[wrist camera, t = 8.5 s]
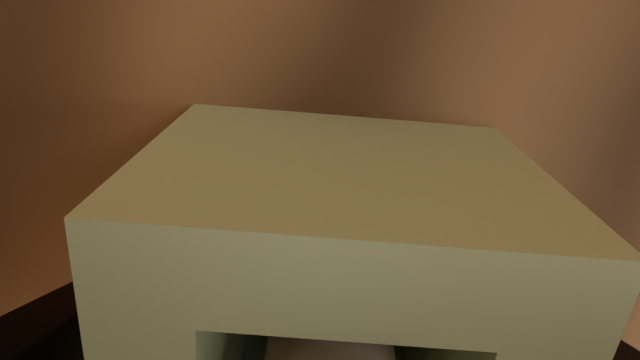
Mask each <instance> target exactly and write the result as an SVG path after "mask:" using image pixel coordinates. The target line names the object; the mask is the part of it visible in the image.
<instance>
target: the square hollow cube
mask: <svg viewBox="0 0 640 360" xmlns="http://www.w3.org/2000/svg"><path fill="white" fill-rule="evenodd" d="M64 223H65V230H66V237H67V244H68V251H69V258H70V265H71V271H72V278H73V285H74V292H75V299H76V306H77V313H78V320H79V327H80V334H81V341H82V348H83V355H84V360H264V359H265V353H266V347H267V342H268V336H277V337H291V338H304V339H318V340H331V341H344V342H358V343H371V344H385V345H393V348H394V354H395V360H613V357H614V355H615V352H616V350H617V347H618V345H619V342H620V340H621V337H622V335H623V332H624V330H625V327H626V325H627V322H628V320H629V317H630V315H631V312H632V310H633V307H634V305H635V302H636V300H637V297H638V295H639V292H640V253H639V252H638V251H637V250H636V249H635V248H634V247H632V246H631V245H630V244H629V243H628V242H627V241H625V240H624V239H623V238H622V237H621V236H620V235H618V234H617V233H616V232H615V231H614V230H613V229H612V228H610V227H609V226H608V225H607V224H606V223H605V222H603V221H602V220H601V219H600V218H599V217H598V216H596V215H595V214H594V213H593V212H592V211H591V210H590V209H588V208H587V207H586V206H585V205H584V204H583V203H581V202H580V201H579V200H578V199H577V198H576V197H574V196H573V195H572V194H571V193H570V192H569V191H568V190H566V189H565V188H564V187H563V186H562V185H561V184H559V183H558V182H557V181H556V180H555V179H554V178H552V177H551V176H550V175H549V174H548V173H547V172H546V171H544V170H543V169H542V168H541V167H540V166H539V165H537V164H536V163H535V162H534V161H533V160H532V159H531V158H529V157H528V156H527V155H526V154H525V153H524V152H522V151H521V150H520V149H519V148H518V147H517V146H515V145H514V144H513V143H512V142H511V141H510V140H509V139H507V138H506V137H505V136H504V135H503V134H502V133H500V132H499V131H498V130H497V129H496V128H494V127H481V126H469V125H456V124H444V123H431V122H418V121H406V120H393V119H381V118H368V117H356V116H343V115H330V114H318V113H305V112H293V111H280V110H268V109H255V108H242V107H230V106H217V105H205V104H193V105H192V106H191V107H190V108H189V109H188V110H187V111H185V112H184V113H183V114H182V115H181V116H180V117H179V118H177V119H176V120H175V121H174V122H173V123H172V124H170V125H169V126H168V127H167V128H166V129H165V130H164V131H162V132H161V133H160V134H159V135H158V136H157V137H156V138H154V139H153V140H152V141H151V142H150V143H149V144H148V145H146V146H145V147H144V148H143V149H142V150H141V151H140V152H138V153H137V154H136V155H135V156H134V157H133V158H132V159H130V160H129V161H128V162H127V163H126V164H125V165H124V166H122V167H121V168H120V169H119V170H118V171H117V172H116V173H114V174H113V175H112V176H111V177H110V178H109V179H107V180H106V181H105V182H104V183H103V184H102V185H101V186H99V187H98V188H97V189H96V190H95V191H94V192H93V193H91V194H90V195H89V196H88V197H87V198H86V199H85V200H83V201H82V202H81V203H80V204H79V205H78V206H77V207H75V208H74V209H73V210H72V211H71V212H70V213H69V214H67V215H66V216H65V217H64Z"/></svg>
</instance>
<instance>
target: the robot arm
mask: <svg viewBox="0 0 640 360" xmlns="http://www.w3.org/2000/svg"><path fill="white" fill-rule="evenodd" d="M0 360H84V355H83V348H82V341H81V334H80V327H79V320H78V313H77V306H76V299H75V292H74V285H73V281H72V282H70V283H68V284H66V285H64V286H62V287H60V288H58V289H55V290H53V291H51V292H49V293H47V294H45V295H43V296H41V297H39V298H37V299H35V300H33V301H31V302H29V303H26V304H24V305H22V306H20V307H18V308H16V309H14V310H12V311H10V312H8V313H6V314H4V315H2V316H0ZM613 360H640V351H639V350H637V349H636V348H634V347H633V346H631V345H629V344H628V343H626V342H624V341H623V340H620V342H619V345H618V347H617V350H616V352H615V355H614V357H613Z"/></svg>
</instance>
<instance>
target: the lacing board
mask: <svg viewBox="0 0 640 360" xmlns="http://www.w3.org/2000/svg"><path fill="white" fill-rule="evenodd" d="M193 104H205V105H217V106H230V107H242V108H255V109H268V110H280V111H293V112H305V113H318V114H330V115H343V116H356V117H368V118H381V119H393V120H406V121H418V122H431V123H444V124H456V125H469V126H481V127H494V128H496V129H497V130H498V131H499V132H500V133H502V134H503V135H504V136H505V137H506V138H507V139H509V140H510V141H511V142H512V143H513V144H514V145H515V146H517V147H518V148H519V149H520V150H521V151H522V152H524V153H525V154H526V155H527V156H528V157H529V158H531V159H532V160H533V161H534V162H535V163H536V164H537V165H539V166H540V167H541V168H542V169H543V170H544V171H546V172H547V173H548V174H549V175H550V176H551V177H552V178H554V179H555V180H556V181H557V182H558V183H559V184H561V185H562V186H563V187H564V188H565V189H566V190H568V191H569V192H570V193H571V194H572V195H573V196H574V197H576V198H577V199H578V200H579V201H580V202H581V203H583V204H584V205H585V206H586V207H587V208H588V209H590V210H591V211H592V212H593V213H594V214H595V215H596V216H598V217H599V218H600V219H601V220H602V221H603V222H605V223H606V224H607V225H608V226H609V227H610V228H612V229H613V230H614V231H615V232H616V233H617V234H618V235H620V236H621V237H622V238H623V239H624V240H625V241H627V242H628V243H629V244H630V245H631V246H632V247H634V248H635V249H636V250H637V251H638V252H639V253H640V0H0V316H2V315H4V314H6V313H8V312H10V311H12V310H14V309H16V308H18V307H20V306H22V305H24V304H26V303H29V302H31V301H33V300H35V299H37V298H39V297H41V296H43V295H45V294H47V293H49V292H51V291H53V290H55V289H58V288H60V287H62V286H64V285H66V284H68V283H70V282H72V281H73V278H72V271H71V265H70V258H69V251H68V244H67V237H66V230H65V223H64V217H65V216H66V215H67V214H69V213H70V212H71V211H72V210H73V209H74V208H75V207H77V206H78V205H79V204H80V203H81V202H82V201H83V200H85V199H86V198H87V197H88V196H89V195H90V194H91V193H93V192H94V191H95V190H96V189H97V188H98V187H99V186H101V185H102V184H103V183H104V182H105V181H106V180H107V179H109V178H110V177H111V176H112V175H113V174H114V173H116V172H117V171H118V170H119V169H120V168H121V167H122V166H124V165H125V164H126V163H127V162H128V161H129V160H130V159H132V158H133V157H134V156H135V155H136V154H137V153H138V152H140V151H141V150H142V149H143V148H144V147H145V146H146V145H148V144H149V143H150V142H151V141H152V140H153V139H154V138H156V137H157V136H158V135H159V134H160V133H161V132H162V131H164V130H165V129H166V128H167V127H168V126H169V125H170V124H172V123H173V122H174V121H175V120H176V119H177V118H179V117H180V116H181V115H182V114H183V113H184V112H185V111H187V110H188V109H189V108H190V107H191V106H192V105H193ZM621 340H623V341H624V342H626V343H628V344H629V345H631V346H633V347H634V348H636V349H637V350H639V351H640V292H639V295H638V297H637V300H636V302H635V305H634V307H633V310H632V312H631V315H630V317H629V320H628V322H627V325H626V327H625V330H624V332H623V335H622V337H621ZM264 360H395V354H394V348H393V345H385V344H371V343H358V342H344V341H331V340H318V339H304V338H291V337H277V336H268V342H267V347H266V353H265V359H264Z"/></svg>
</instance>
